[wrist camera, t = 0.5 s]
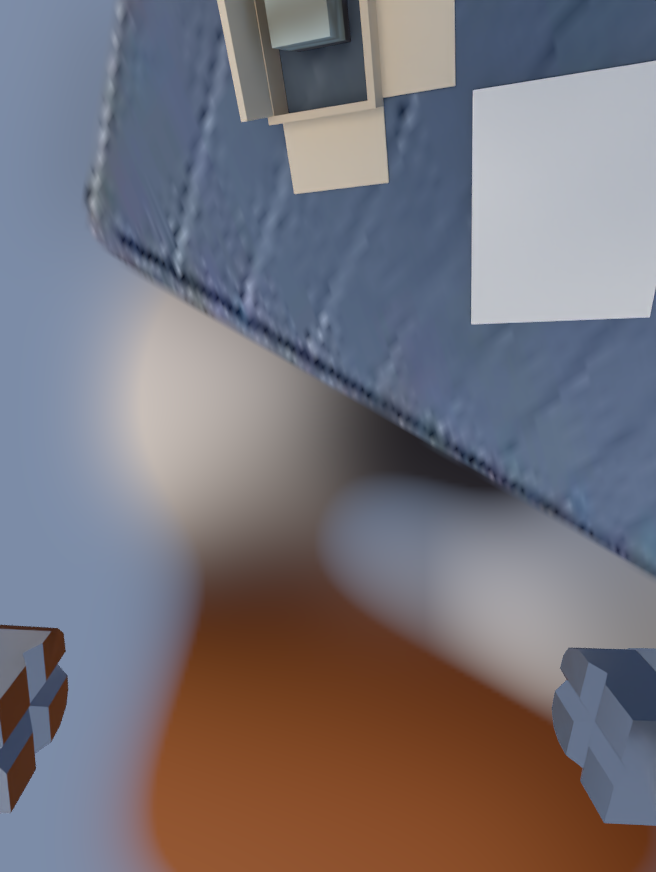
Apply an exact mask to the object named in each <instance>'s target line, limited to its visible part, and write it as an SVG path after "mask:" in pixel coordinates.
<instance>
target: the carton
mask: <svg viewBox="0 0 656 872" xmlns="http://www.w3.org/2000/svg"><path fill="white" fill-rule="evenodd" d="M217 2H218V7H219V12H220V17H221V22H222V27H223V32H224V37H225V42H226V47H227V52H228V57H229V62H230V67H231V73H232V78H233V83H234V88H235V93H236V98H237V103H238V108H239V113H240V118H241V122H245V121H251V120H256V119H261V118H267V117H268V122H269V125H275V124H281V123H283V127H284V133H285V139H286V146H287V152H288V158H289V164H290V170H291V177H292V183H293V189H294V194H299V193H307V192H315V191H324V190H332V189H341V188H349V187H358V186H366V185H374V184H383V183H389V173H388V159H387V145H386V130H385V116H384V102H383V98H385V97H391V96H397V95H403V94H409V93H415V92H421V91H427V90H433V89H439V88H445V87H451V86H455V0H359V3H360V15H361V27H362V39H363V51H364V63H365V75H366V86H367V98H368V100H367V101H361V102H355V103H349V104H343V105H337V106H331V107H325V108H318V109H312V110H306V111H300V112H294V113H289V112H288V105H287V99H286V92H285V86H284V79H283V73H282V66H281V60H280V53H279V49H274V48H272V45H271V39H270V32H269V26H268V20H267V14H266V7H265V1H264V0H217Z"/></svg>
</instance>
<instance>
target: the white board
mask: <svg viewBox="0 0 656 872" xmlns="http://www.w3.org/2000/svg"><path fill="white" fill-rule="evenodd" d="M655 288H656V61H650V62H644V63H638V64H632V65H626V66H619V67H613V68H607V69H601V70H595V71H589V72H582V73H576V74H570V75H564V76H558V77H551V78H545V79H539V80H533V81H527V82H521V83H514V84H508V85H502V86H496V87H490V88H483V89H477V90H473V137H472V279H471V324H493V323H518V322H543V321H569V320H594V319H619V318H644V317H650V313H651V308H652V303H653V298H654V293H655Z"/></svg>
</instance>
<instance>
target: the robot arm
mask: <svg viewBox="0 0 656 872" xmlns="http://www.w3.org/2000/svg"><path fill="white" fill-rule="evenodd" d="M65 652H66V650H65V641H64V634H63V632H62V631H60V629H58V628H48V627H31V626H13V625H0V813H11V812H12V810H13V809H14V807H15V805H16V803H17V801H18V800H19V798H20V796H21V795H22V793H23V791H24V789H25V788H26V786H27V784H28V782H29V781H30V779H31V777H32V775H33V774H34V772H35V770H36V763H35V753H37V752H38V751H39V750H41V749H42V748H44V747H45V746H47V745H48V744H49V743H51V742H52V740H53V738H54V736H55V734H56V732H57V730H58V729H59V727H60V724H61V721H62V717H63V715H64V711H65V708H66V705H67V696H68V678H67V674H66V673H65V672H64V671H63V670H62V669H61V668H60V666H59V665H58V662H59V661H60V659H61V657H62V656H63V655H64V653H65ZM560 669H561V671H562V672H563V674H564V676H565V678H566V681H565V682H564V683H563V684H562V685H561V686H560V687H559V688H558V689H557V690H556V691H555V694H554V699H553V705H552V715H553V725H554V729H555V732H556V735H557V738H558V741H559V743H560V744H561V747H562V748H563V750H564V752H565V754H566V755H567V756H568V757H569V758H571V759H572V760H573V761H574V762H576V763H577V764H578V765H580V766H581V767H582V768H583V770H582V775H581V783H582V785H583V786H584V788H585V790H586V792H587V793H588V795H589V797H590V799H591V800H592V802H593V804H594V806H595V807H596V809H597V811H598V813H599V814H600V816H601V818H602V820H603V822H604V823H615V824H636V825H656V649H648V648H645V649H644V648H629V649H597V648H568V650H567V651H566V652H565V654H564V655H563V659H562V663H561V667H560Z"/></svg>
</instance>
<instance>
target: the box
mask: <svg viewBox="0 0 656 872" xmlns="http://www.w3.org/2000/svg"><path fill="white" fill-rule="evenodd" d="M264 1H265V7H266V14H267V20H268V26H269V32H270V39H271V45H272V48H274V49H281V50H289V51H296V52H301V51H306V50H311V49H316V48H321V47H326V46H331V45H336V44H341V43H346V42H351V38H350V28H349V17H348V7H347V0H264Z"/></svg>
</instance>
